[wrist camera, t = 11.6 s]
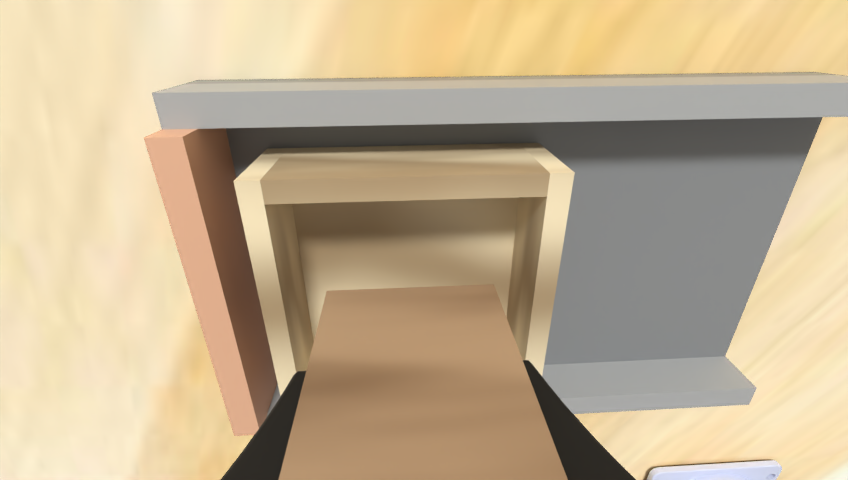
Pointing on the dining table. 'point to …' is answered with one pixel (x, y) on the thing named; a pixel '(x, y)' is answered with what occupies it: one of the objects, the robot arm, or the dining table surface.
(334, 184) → the crate
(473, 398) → the walnut block
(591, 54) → the dining table surface
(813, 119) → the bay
